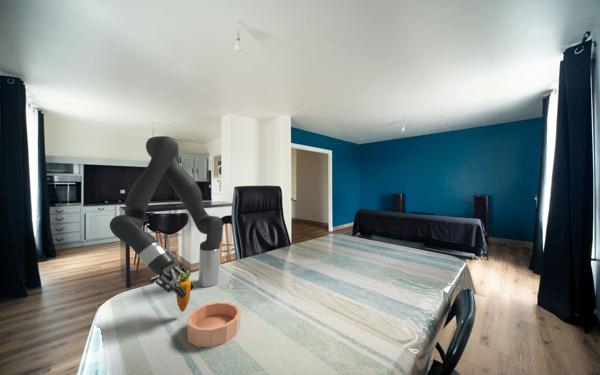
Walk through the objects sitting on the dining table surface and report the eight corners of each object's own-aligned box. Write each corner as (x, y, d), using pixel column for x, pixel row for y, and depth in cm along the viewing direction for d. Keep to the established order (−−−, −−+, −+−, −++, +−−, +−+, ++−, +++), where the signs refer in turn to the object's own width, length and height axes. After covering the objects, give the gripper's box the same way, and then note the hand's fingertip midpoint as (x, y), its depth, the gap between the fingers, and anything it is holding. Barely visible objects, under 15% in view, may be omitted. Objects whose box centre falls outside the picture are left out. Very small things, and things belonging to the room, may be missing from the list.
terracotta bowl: (201, 315, 80) (202, 301, 80) (244, 316, 80) (245, 303, 80) (176, 345, 64) (177, 328, 64) (230, 347, 64) (231, 330, 64)
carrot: (186, 306, 82) (188, 266, 82) (192, 311, 79) (194, 270, 79) (172, 311, 78) (174, 270, 78) (178, 317, 75) (179, 274, 75)
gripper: (150, 257, 71) (185, 295, 71) (176, 245, 86) (205, 277, 86) (134, 272, 71) (169, 310, 71) (162, 258, 86) (191, 290, 86)
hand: (188, 292), depth 78 cm, fingers closed on carrot, 5 cm apart
